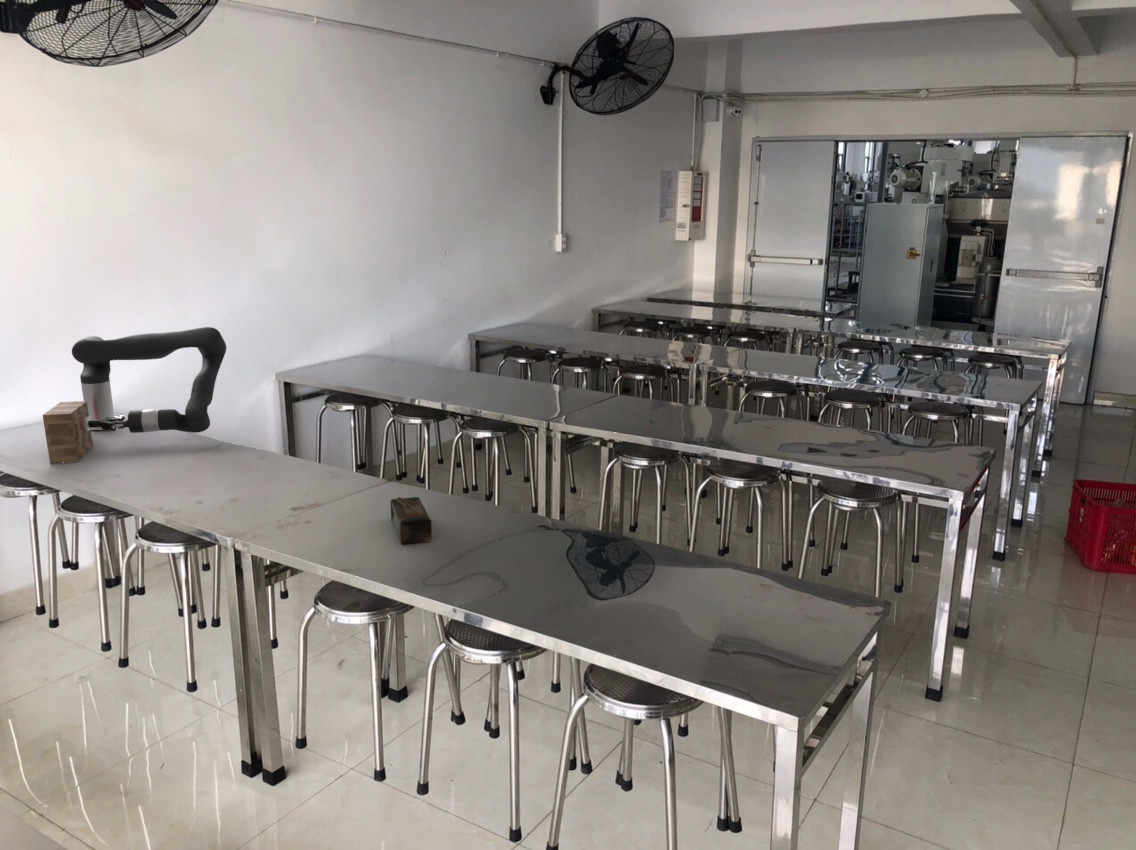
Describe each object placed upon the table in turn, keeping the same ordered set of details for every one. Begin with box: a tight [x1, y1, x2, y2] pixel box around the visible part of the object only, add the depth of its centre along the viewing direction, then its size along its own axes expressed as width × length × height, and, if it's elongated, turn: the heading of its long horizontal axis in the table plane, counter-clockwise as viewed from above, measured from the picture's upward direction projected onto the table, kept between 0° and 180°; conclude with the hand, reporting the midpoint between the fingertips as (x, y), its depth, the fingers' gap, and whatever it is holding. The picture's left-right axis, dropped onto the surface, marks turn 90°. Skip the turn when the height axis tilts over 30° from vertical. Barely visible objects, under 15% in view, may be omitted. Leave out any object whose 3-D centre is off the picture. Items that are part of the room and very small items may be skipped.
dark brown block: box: [390, 496, 432, 546], centre depth 227 cm, size 8×19×7 cm, turn 18°
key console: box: [42, 400, 94, 464], centre depth 290 cm, size 18×8×16 cm, turn 13°
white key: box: [74, 416, 92, 431], centre depth 296 cm, size 4×5×4 cm
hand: (89, 423), depth 296 cm, fingers closed
